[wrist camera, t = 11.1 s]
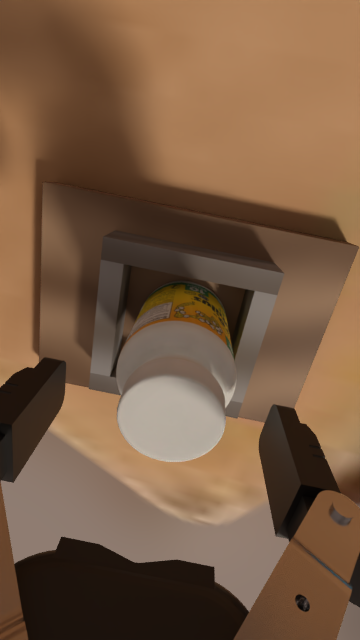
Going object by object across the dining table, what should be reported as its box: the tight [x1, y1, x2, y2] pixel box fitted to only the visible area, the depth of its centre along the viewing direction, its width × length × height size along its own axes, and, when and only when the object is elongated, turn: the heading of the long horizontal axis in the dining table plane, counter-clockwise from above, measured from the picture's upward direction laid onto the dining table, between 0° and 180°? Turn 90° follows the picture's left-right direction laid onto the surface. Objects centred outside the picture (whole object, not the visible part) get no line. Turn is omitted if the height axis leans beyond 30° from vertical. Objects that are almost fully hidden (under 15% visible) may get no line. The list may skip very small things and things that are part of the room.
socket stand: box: [39, 182, 359, 422], centre depth 20 cm, size 13×18×4 cm
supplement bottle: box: [116, 281, 236, 462], centre depth 16 cm, size 5×5×10 cm
